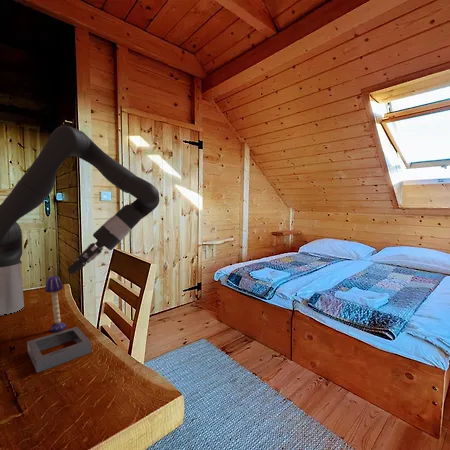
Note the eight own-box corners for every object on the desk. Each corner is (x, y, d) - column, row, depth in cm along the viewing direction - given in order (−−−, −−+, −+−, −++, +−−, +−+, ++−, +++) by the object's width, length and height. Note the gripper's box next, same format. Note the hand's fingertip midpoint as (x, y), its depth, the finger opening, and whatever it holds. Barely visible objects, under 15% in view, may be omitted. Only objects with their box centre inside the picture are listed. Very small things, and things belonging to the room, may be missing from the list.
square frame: (36, 373, 63) (36, 360, 62) (28, 352, 71) (27, 341, 71) (91, 352, 71) (90, 341, 71) (77, 336, 80) (77, 326, 79)
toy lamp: (47, 334, 81) (43, 280, 80) (49, 327, 85) (45, 276, 84) (65, 330, 83) (62, 277, 82) (66, 324, 87) (63, 274, 86)
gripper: (104, 226, 93) (67, 261, 88) (101, 222, 79) (57, 264, 75) (121, 240, 94) (85, 276, 89) (121, 239, 81) (78, 281, 76)
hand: (72, 271), depth 82 cm, fingers open, 8 cm apart
